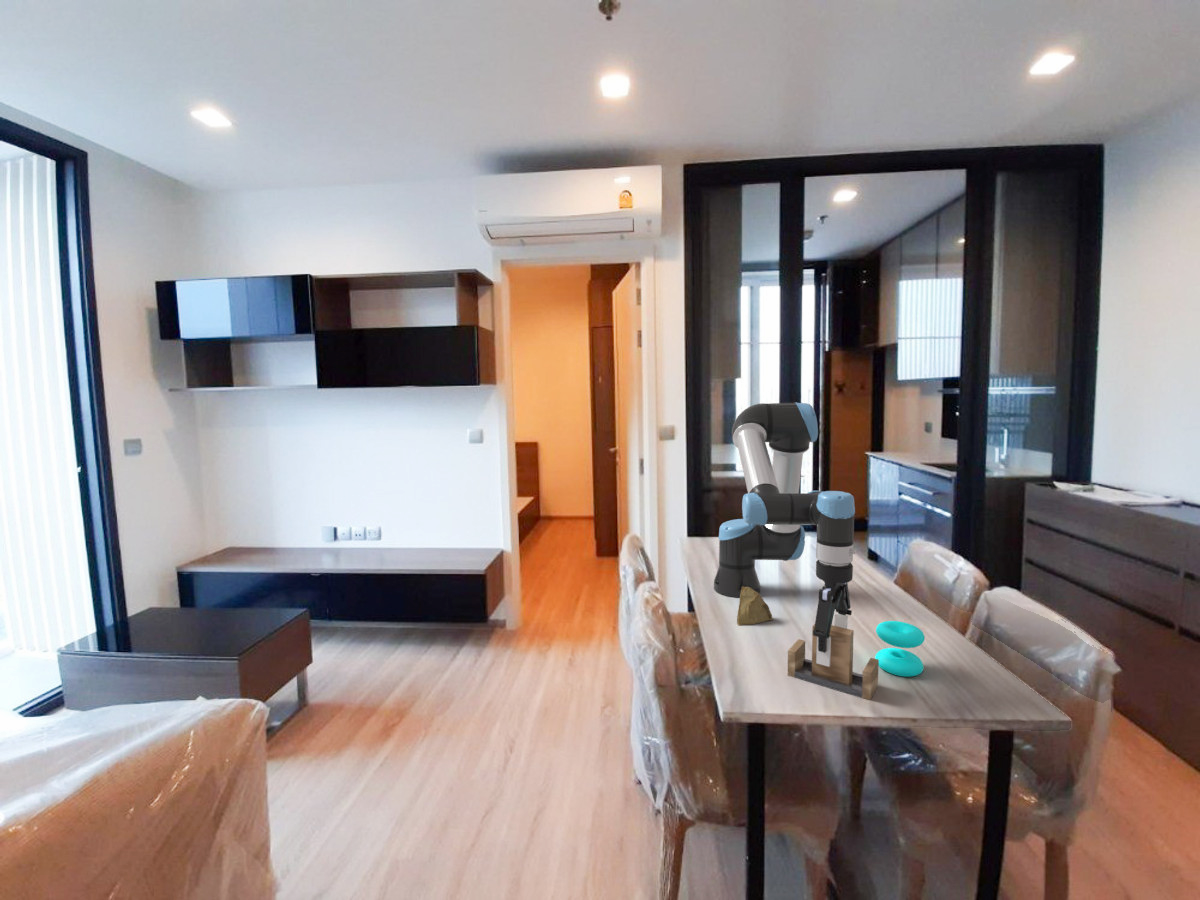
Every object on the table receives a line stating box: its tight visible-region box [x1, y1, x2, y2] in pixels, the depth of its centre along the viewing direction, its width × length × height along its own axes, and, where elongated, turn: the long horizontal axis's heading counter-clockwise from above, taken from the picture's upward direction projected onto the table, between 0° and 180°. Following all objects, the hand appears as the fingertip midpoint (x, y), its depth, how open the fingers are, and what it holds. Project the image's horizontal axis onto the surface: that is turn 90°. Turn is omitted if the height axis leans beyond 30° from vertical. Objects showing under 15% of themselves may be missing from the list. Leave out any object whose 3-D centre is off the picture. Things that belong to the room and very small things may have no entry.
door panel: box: [811, 623, 854, 685], centre depth 123 cm, size 8×3×12 cm, turn 52°
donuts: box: [874, 620, 925, 678], centre depth 128 cm, size 10×10×10 cm
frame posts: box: [787, 638, 880, 701], centre depth 123 cm, size 18×7×6 cm, turn 52°
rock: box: [736, 586, 773, 626], centre depth 156 cm, size 11×9×10 cm
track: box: [794, 658, 863, 699], centre depth 123 cm, size 14×7×2 cm, turn 52°
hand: (832, 652), depth 123 cm, fingers open, 13 cm apart
